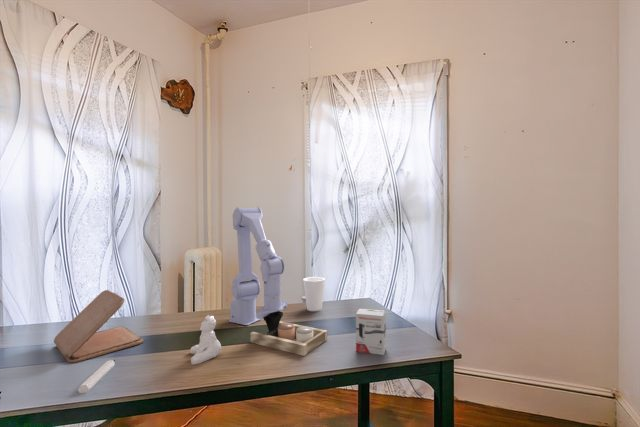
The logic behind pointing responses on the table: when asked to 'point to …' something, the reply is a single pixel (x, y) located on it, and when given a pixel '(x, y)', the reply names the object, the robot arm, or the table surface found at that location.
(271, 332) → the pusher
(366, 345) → the ink box
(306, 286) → the foam cup
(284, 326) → the terracotta jar
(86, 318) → the case
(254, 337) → the beige flat open box
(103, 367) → the marker
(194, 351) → the sitting furry creature
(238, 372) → the table surface
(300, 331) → the cream jar
